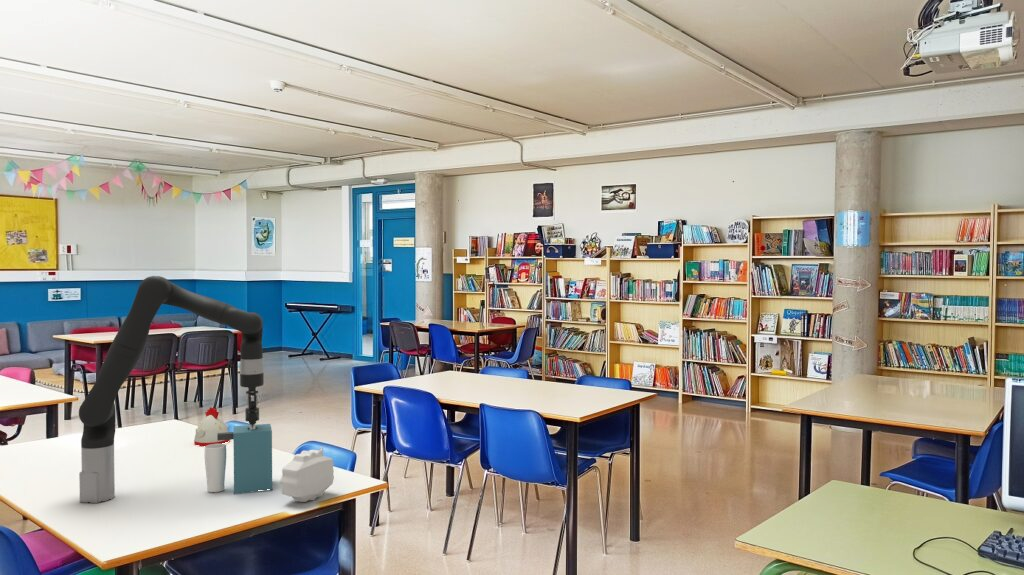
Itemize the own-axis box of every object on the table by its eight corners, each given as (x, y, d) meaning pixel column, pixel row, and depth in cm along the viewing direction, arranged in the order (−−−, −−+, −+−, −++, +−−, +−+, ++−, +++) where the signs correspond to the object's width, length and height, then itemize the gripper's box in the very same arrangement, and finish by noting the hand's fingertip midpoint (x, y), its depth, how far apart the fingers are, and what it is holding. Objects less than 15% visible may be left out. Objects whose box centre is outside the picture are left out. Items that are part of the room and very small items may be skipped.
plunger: (259, 450, 256) (258, 406, 255) (259, 453, 252) (259, 409, 251) (245, 451, 254) (245, 407, 254) (245, 454, 250) (245, 409, 250)
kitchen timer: (207, 448, 308) (207, 412, 308) (187, 443, 316) (187, 408, 315) (236, 441, 320) (236, 406, 319) (216, 437, 327) (216, 403, 327)
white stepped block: (338, 494, 245) (338, 446, 245) (299, 510, 229) (299, 458, 229) (313, 489, 250) (313, 442, 250) (273, 504, 234) (272, 454, 234)
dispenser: (270, 480, 261) (270, 423, 260) (272, 490, 250) (271, 430, 249) (218, 485, 255) (217, 427, 255) (217, 495, 244) (217, 434, 243)
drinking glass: (212, 495, 244) (211, 449, 244) (200, 491, 249) (200, 446, 248) (230, 490, 250) (230, 445, 249) (219, 486, 254) (219, 442, 254)
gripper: (264, 374, 247) (264, 425, 247) (262, 368, 260) (263, 417, 261) (240, 375, 244) (240, 427, 245) (239, 369, 258) (240, 419, 258)
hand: (252, 422), depth 253 cm, fingers closed on plunger, 4 cm apart
